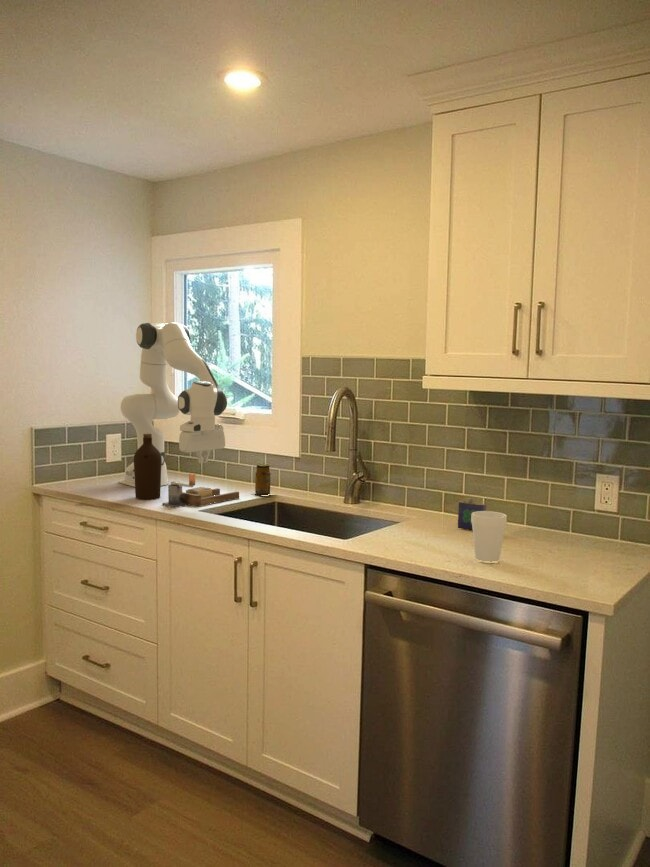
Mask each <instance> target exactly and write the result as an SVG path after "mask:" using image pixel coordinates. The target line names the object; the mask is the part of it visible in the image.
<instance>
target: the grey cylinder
mask: <svg viewBox="0 0 650 867" xmlns="http://www.w3.org/2000/svg"><path fill="white" fill-rule="evenodd" d="M167 486H168V498H167V499H168V501H166V502H162V506H164V505H165V506H166V507H169V506H170V507H169V508H174V507H177V508H181V507H180V506H182V507H185V505H187V506H189V505H188V503H185V502H182V500H183V498H182V492H183V486H179V485H171V484H167ZM165 506H164V507H165Z"/></svg>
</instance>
